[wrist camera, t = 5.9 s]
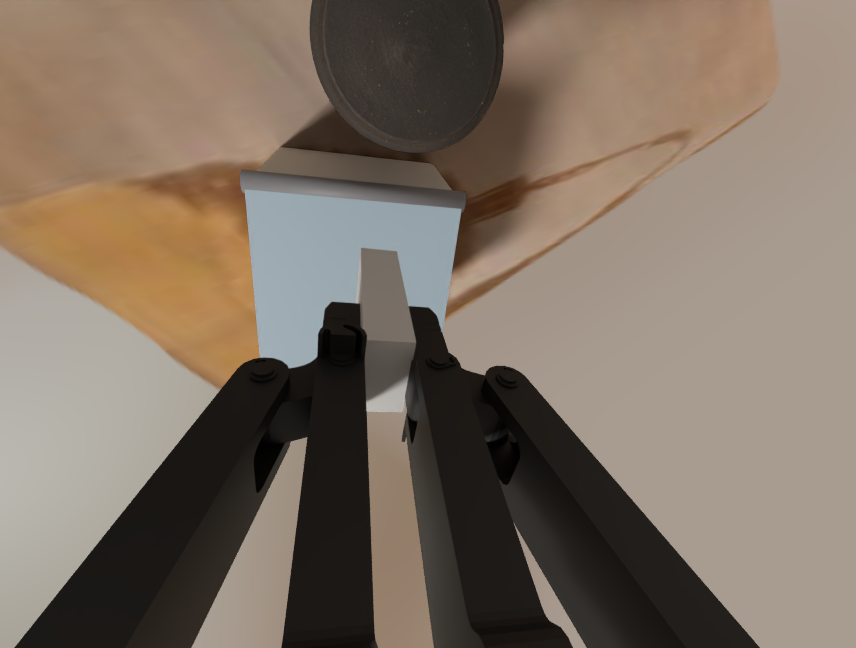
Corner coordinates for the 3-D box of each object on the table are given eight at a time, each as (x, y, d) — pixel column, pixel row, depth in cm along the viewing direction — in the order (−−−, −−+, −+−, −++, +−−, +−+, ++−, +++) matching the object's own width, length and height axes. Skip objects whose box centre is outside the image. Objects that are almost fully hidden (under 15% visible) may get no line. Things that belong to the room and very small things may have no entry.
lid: (435, 362, 35) (438, 372, 34) (261, 360, 33) (258, 370, 31) (462, 189, 28) (467, 193, 27) (244, 168, 26) (239, 171, 25)
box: (280, 146, 36) (250, 178, 26) (432, 163, 39) (457, 197, 29) (288, 285, 44) (267, 351, 34) (416, 292, 46) (431, 354, 36)
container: (410, -35, 31) (470, -150, 14) (453, 89, 36) (534, 110, 19) (312, 20, 32) (260, -28, 15) (366, 133, 37) (372, 191, 20)
